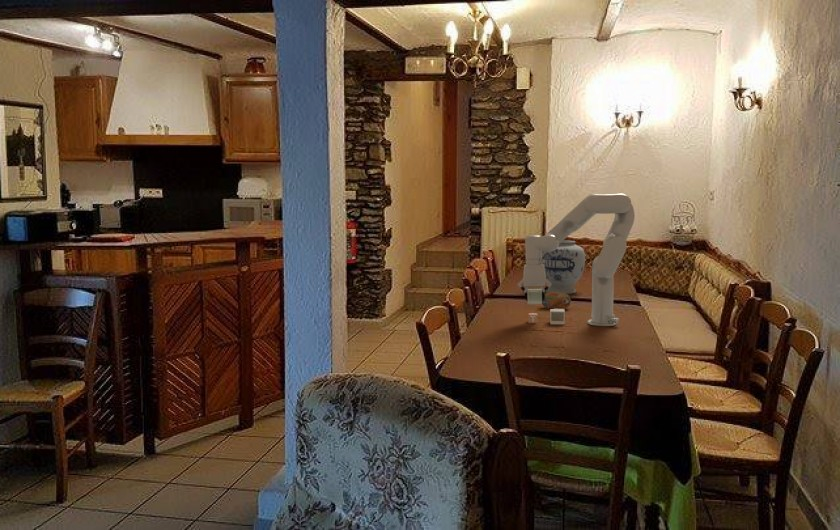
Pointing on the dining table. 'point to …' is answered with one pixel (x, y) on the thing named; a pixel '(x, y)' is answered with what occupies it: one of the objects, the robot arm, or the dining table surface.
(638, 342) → the dining table surface
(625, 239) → the robot arm
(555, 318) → the cream cube
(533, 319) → the letter block
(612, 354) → the dining table surface
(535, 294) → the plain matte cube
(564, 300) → the tin
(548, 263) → the apothecary jar
